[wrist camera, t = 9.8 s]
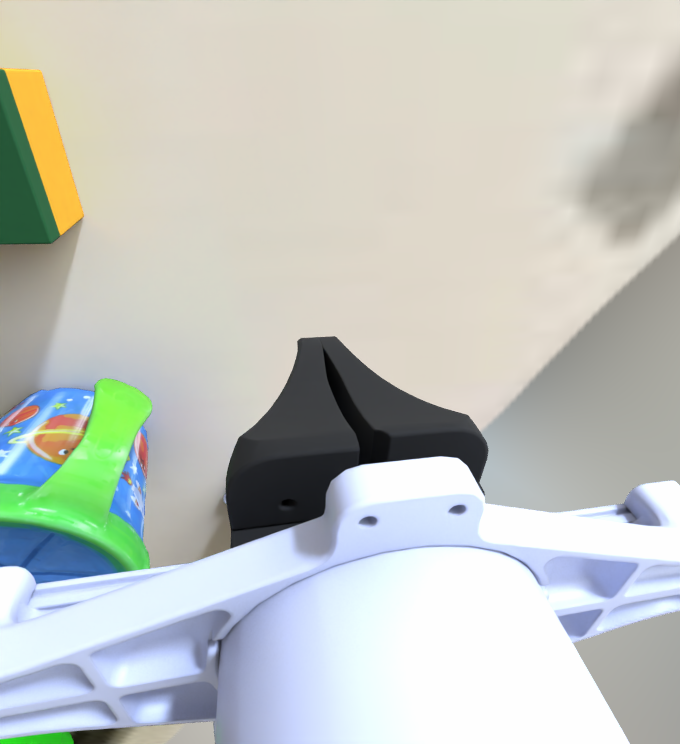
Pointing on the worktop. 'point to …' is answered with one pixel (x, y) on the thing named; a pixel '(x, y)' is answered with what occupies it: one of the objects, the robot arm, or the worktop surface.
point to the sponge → (32, 164)
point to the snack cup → (75, 482)
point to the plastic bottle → (41, 739)
